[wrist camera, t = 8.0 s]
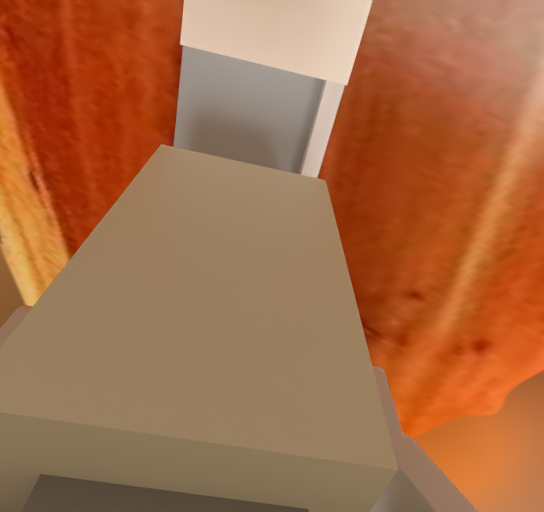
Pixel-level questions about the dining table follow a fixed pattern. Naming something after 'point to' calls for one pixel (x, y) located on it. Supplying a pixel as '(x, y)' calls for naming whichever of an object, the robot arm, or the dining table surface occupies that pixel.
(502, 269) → the dining table surface
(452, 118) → the dining table surface
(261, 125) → the rail board
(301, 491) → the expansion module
